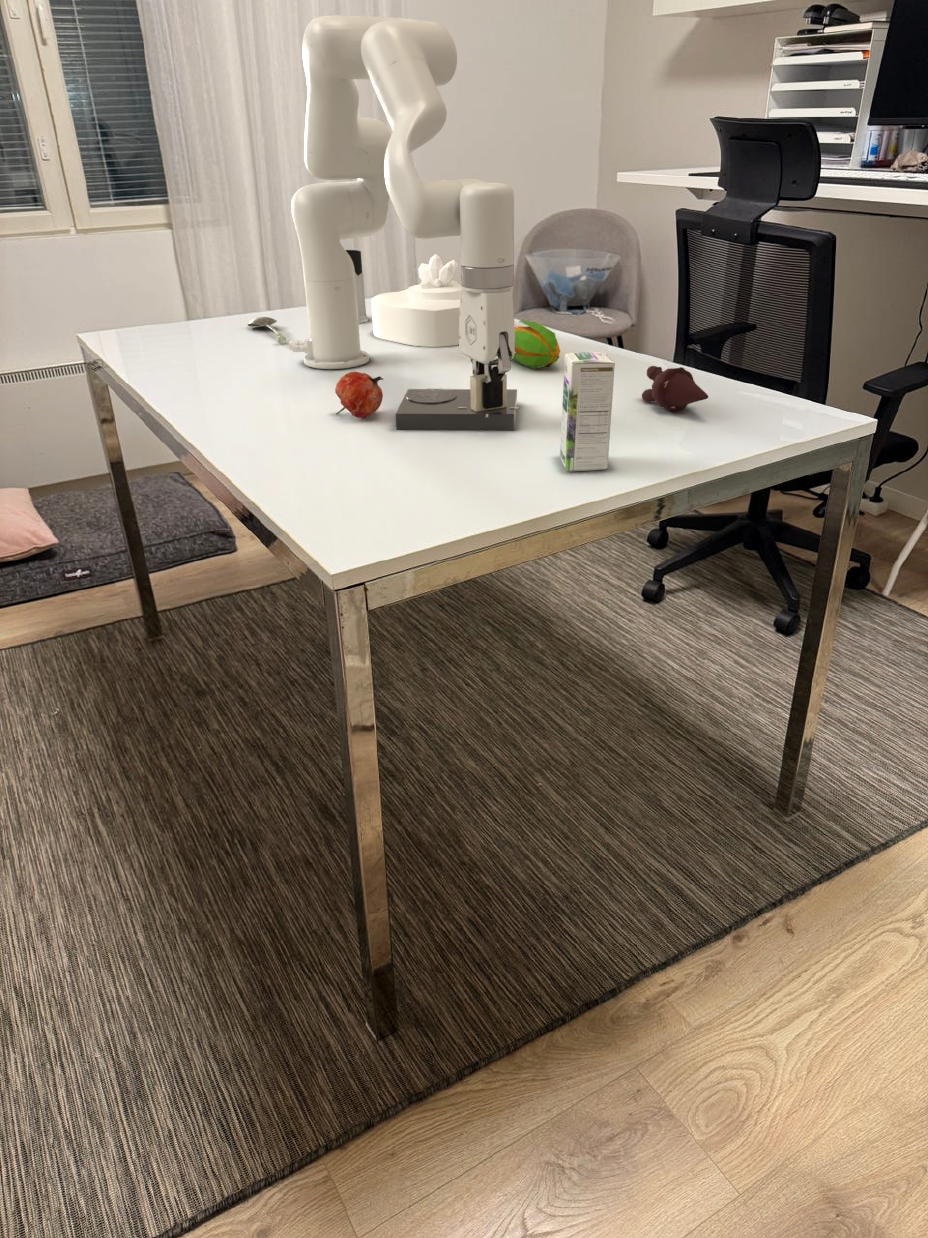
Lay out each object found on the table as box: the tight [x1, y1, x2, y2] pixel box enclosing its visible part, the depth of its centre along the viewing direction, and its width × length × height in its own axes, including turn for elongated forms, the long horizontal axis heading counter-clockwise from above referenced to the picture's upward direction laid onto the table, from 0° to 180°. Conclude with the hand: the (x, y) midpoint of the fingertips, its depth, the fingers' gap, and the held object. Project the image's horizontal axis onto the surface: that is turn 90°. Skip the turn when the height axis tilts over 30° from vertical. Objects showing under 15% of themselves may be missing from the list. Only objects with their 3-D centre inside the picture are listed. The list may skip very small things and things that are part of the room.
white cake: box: [370, 253, 462, 348], centre depth 198 cm, size 25×25×16 cm
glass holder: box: [345, 249, 369, 324], centre depth 214 cm, size 9×14×15 cm, turn 171°
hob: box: [395, 388, 520, 431], centre depth 145 cm, size 19×16×3 cm
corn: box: [511, 319, 561, 370], centre depth 175 cm, size 7×8×20 cm
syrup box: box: [559, 351, 616, 472], centre depth 122 cm, size 6×6×14 cm
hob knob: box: [469, 373, 508, 412], centre depth 140 cm, size 5×2×5 cm, turn 115°
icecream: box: [641, 365, 709, 413], centre depth 145 cm, size 7×7×15 cm
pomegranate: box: [334, 371, 384, 419], centre depth 146 cm, size 7×7×10 cm
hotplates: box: [407, 388, 471, 404], centre depth 147 cm, size 16×8×1 cm, turn 85°
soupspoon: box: [247, 316, 287, 345], centre depth 203 cm, size 22×3×7 cm
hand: (488, 403), depth 141 cm, fingers closed on hob knob, 2 cm apart
